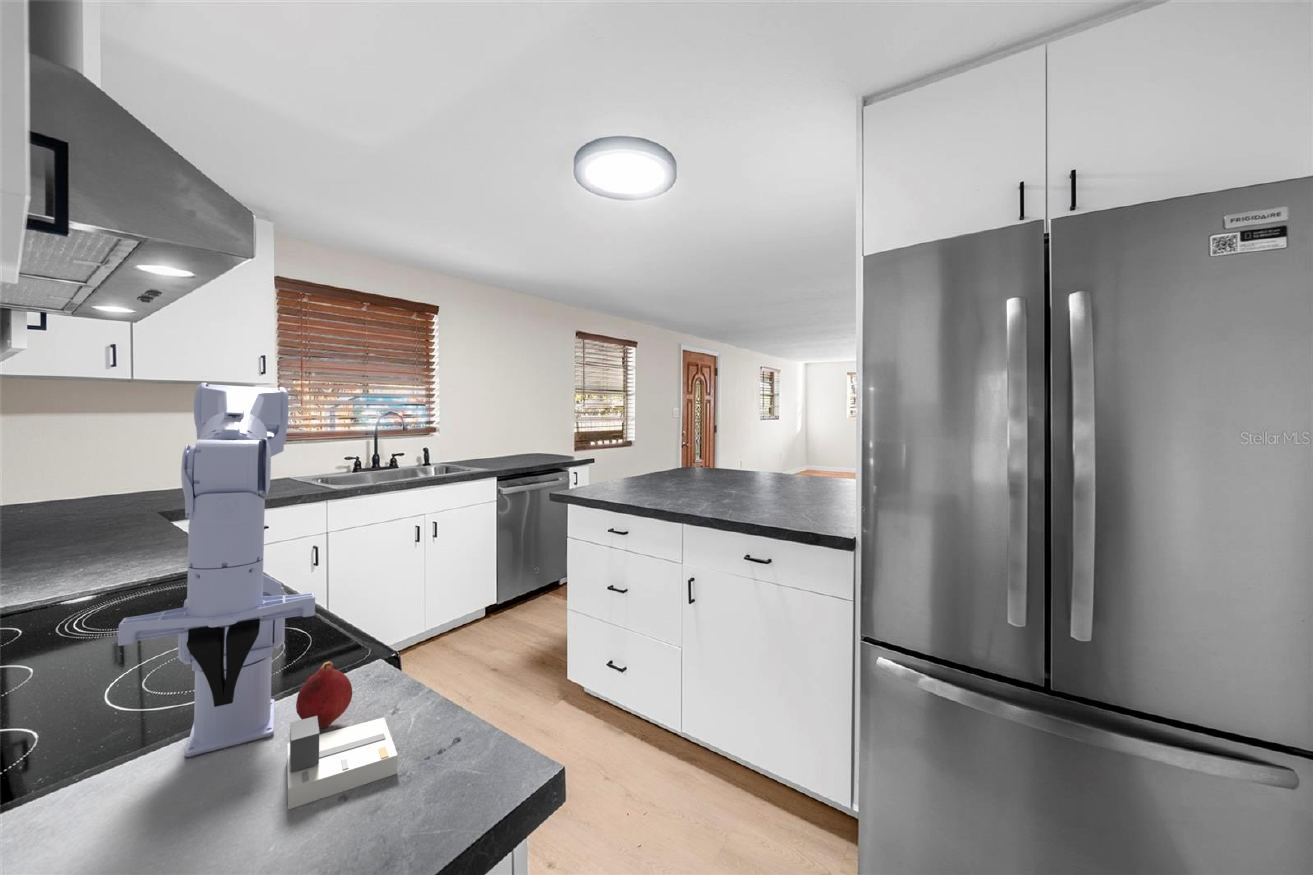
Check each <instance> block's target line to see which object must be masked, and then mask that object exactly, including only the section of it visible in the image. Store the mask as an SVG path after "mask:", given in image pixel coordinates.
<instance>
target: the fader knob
mask: <svg viewBox="0 0 1313 875" xmlns="http://www.w3.org/2000/svg"><path fill="white" fill-rule="evenodd" d="M289 724H290V727H289V728H290V731H289V743H290V772H293V771H297V770H300V769H304V768H307V767H310V766H314V765H317V764H319V735H320V728H319V726H318V718H317V716H314V717H310V718H306V719H299V720H296V721H291V722H290V723H289Z"/></svg>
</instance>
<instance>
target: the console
mask: <svg viewBox="0 0 1313 875" xmlns="http://www.w3.org/2000/svg"><path fill="white" fill-rule="evenodd" d="M286 746H287V747H286V748H287V749H286V775H287V776H286V777H287V779H286V780H287V781H286V782H287V787H286V788H287V810H291V809H295V808H298V807H300V806H304V805H307V804H310V803H312V802H315V801H318V800H322V799H325V798H327V797H331V796H333V795H336V794H339V793H343V792H345V791H348V790H351V789H354V788H358V787H360V786H364V785H366V784H370V783H372V782H376V781H379V780H382V779H385V778H388V777H391V776H394V775H397V774H398V763H399V762H398V760H399V758H398V757H399V755H398V752H397V750H396V749H397V748H396V746H395V743H394V740H393V738H392V734H391V732H390V730H389V728H388V725H387V721H386V718H385V717H379V718H376V719H371V720H369V721H365V722H361V723H356V724H354V725H349V726H347V727H343V728H339V729H335V730H331V731H328V732H327V731H326V732H325V733H321V734H320V733H319V764H317V765H314V766H310V767H307V768H304V769H300V770H297V771H293V772H290V742H288V743H287V744H286ZM321 798H322V799H321Z"/></svg>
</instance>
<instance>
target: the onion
mask: <svg viewBox="0 0 1313 875" xmlns="http://www.w3.org/2000/svg"><path fill="white" fill-rule="evenodd" d="M333 667H334V663H333V662H332V661H326V662H324V663H323V664H321V666H320V668H319V669H318V670H316V672H315V673H313V674H312V675H311V676H310V677H309V678H308V679H307V680H306V681H305V682H304V683H303V684H302V685H301V688H300V689H299V691H298V694H297V698H296V701H295V702H296V703H295V709H296V713H297V715H298V717H299V718H300V720H302V719H306V718H310V717H314V716H317V718H318V726H319V729H325V728H328V727H330V726H331V725H332V724H333V723H334V721H336V720H337V719H339V717H341V716H342V715H343V714H344V713H345V712H346V710H347V709H348V707H349V705H350V703H351V702H352V698H353V687H352V683H351V681H350V679H349V678H348V676H347V675H345V674H344V673H343V672H341V671H340V670H337V669H334V668H333Z"/></svg>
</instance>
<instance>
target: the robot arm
mask: <svg viewBox="0 0 1313 875" xmlns="http://www.w3.org/2000/svg"><path fill="white" fill-rule="evenodd" d="M193 420H194V421H193V422H194V425H195V428H196V438H197V439H196V440H197V441H196V444H194V445H193V444H192V445H190V444H186V445H185V446H184V449H183V452H182V457H181V458H182V459H181V468H180V469H181V471H180V472H181V473H180V474H181V476H180V478H181V487H182V492H183V495H184V514H185V515H184V516H185V519H188V521H189V522H188V523H189V524H188V532H187V533H188V537H187V540H188V543H187V582H186V583H187V586H186V588H187V590H186V592H187V593H186V599H185V600H184V601H183V602H184V603H183V607H179V608H173V609H169V610H168V609H167V610H162V611H158V612H154V613H149V614H147V613H146V614H143V615H141V614H140V615H136V616H130V617H124V618H122V620H121V621H120V622H119V624H118V638H117V640H118V641H117V644H118V645H117V646H118V647H119V646H126V645H133V644H135V643H137V641H138V642H139V641H143V640H151V639H152V640H153V639H156V638H157V639H158V638H164V637H169V636H178V637H177V639H178V640H177V653H178V656H177V657H178V659H179V661H180V662H181V663H183V664H184V665H186V666H187V665H191V671H192V672H194V704H193V705H194V706H193V707H194V709H193V710H194V711H193V712H194V713H193V714H194V716H193V717H194V718H193V724H192V726H191V730H190V734H189V737H188V740H187V741H188V742H187V744H186V748H185V751H184V756H185V757H186V758H187V757H193V756H196V755H201V754H204V753H205V754H206V753H208V752H212V751H216V750H220V749H224V748H228V747H231V746H236V745H240V744H243V743H248V742H251V741H252V742H253V741H256V740H259V739H263V738H266V737H270V736H272V735H273V734H275V712H276V711H275V705H276V704H275V703H276V702H275V698H272V659H273V658H272V657H273V651H274V650H276V649H280V648H281V646H282V645H283V644H284V643H285V636H286V633H285V629H286V619H288V618H294V617H302V618H307V617H314V616H315V615H316V595H315V592H309V593H299V594H287V595H286V594H285V588H284V587H283V586H282V583H281V582H280V581H278V580H275V579H274V578H272V577H270V576H268V575H265V574H264V556H265V554H264V550H265V549H264V547H265V513H266V512H265V507H266V506H265V504H266V498H265V496H266V497H268V494H269V491H270V489H271V488H270V487H271V474H272V472H271V471H272V469H271V468H272V467H271V465H272V457H274V456H276V455H278V454H280V453H282V452H284V451H285V450H284V448H285V445H286V444H287V430H288V429H289V391H288V390H287V389H286V388H285V387H279V388H274V387H261V386H260V387H259V386H258V387H257V386H242V385H225V384H223V385H222V384H208V382H201V383H200V384H199V385H197V386H196V387H195V391H194V400H193ZM262 492H263V493H264V494H265V496H263V495H262ZM273 649H274V650H273Z"/></svg>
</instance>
